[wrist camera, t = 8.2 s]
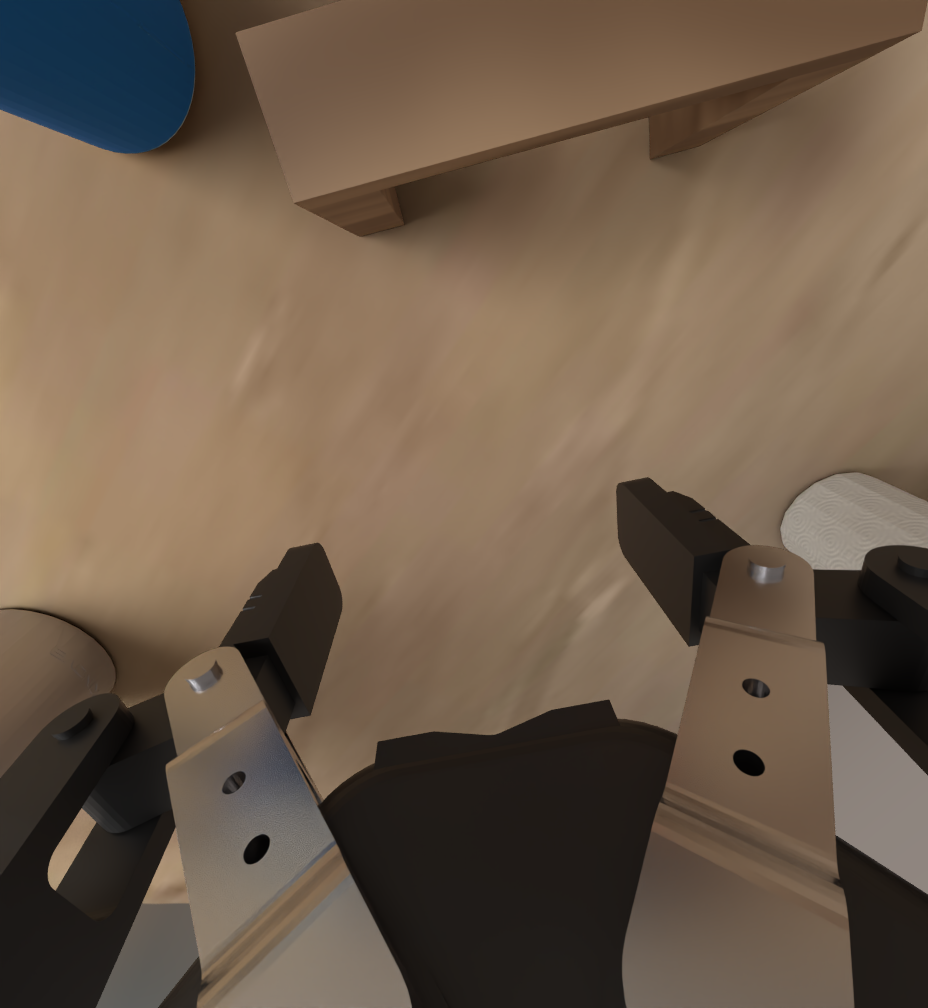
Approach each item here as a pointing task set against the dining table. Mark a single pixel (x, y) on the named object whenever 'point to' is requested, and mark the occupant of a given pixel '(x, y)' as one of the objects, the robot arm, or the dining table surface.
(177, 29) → the beverage can
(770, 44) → the bridge
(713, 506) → the dining table surface
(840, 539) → the paper towel roll
